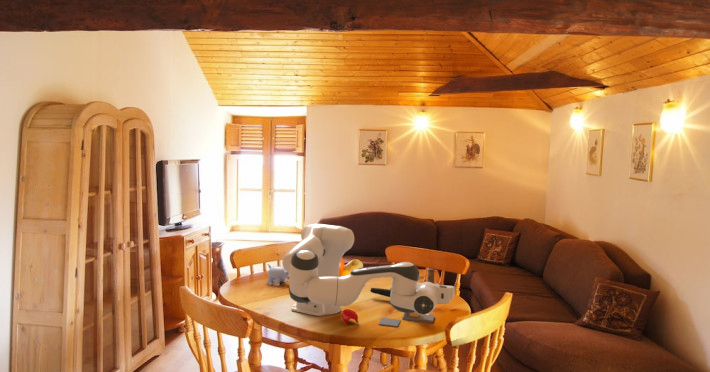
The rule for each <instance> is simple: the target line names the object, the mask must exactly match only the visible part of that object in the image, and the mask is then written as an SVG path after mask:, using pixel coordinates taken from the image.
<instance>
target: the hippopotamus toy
mask: <svg viewBox="0 0 710 372" xmlns="http://www.w3.org/2000/svg"><path fill="white" fill-rule="evenodd" d="M267 266H268V268H269V269H268V272H267V275H268V277H267V280H266V285H271V286H276V287H277V286H280V285H281V283H287V282H288V280H289V278H290V277H289V273H288V272H286V271H285V269H284V268H283V266H278V265H277V266H272V265H270V264H267ZM280 282H281V283H280Z"/></svg>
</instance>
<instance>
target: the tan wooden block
mask: <svg viewBox="0 0 710 372" xmlns="http://www.w3.org/2000/svg"><path fill="white" fill-rule="evenodd" d="M419 315H420V314H418V313H417V312H414V313H410V316H412V317H419Z"/></svg>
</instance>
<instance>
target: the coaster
mask: <svg viewBox="0 0 710 372" xmlns="http://www.w3.org/2000/svg"><path fill="white" fill-rule="evenodd" d="M401 320H402V319H397V318H391V317H390V318H388V317H382V318H381V319H380V321H379V322H378V326H386V327H393V328H398V326H399V325H400V323H401Z"/></svg>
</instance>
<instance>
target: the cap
mask: <svg viewBox="0 0 710 372" xmlns="http://www.w3.org/2000/svg"><path fill="white" fill-rule="evenodd" d="M340 314H341V315H340V317H341V318H342V319H341V320H342V321H343V323H344V325H345V326H347V325H348V321H350V320H354V321H355V323H356V324H359V317H358V314H357V313H356V312H355V310H352V309H350V308H345V309H343V310H341V313H340Z"/></svg>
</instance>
